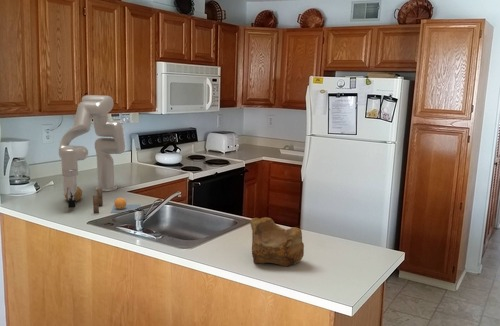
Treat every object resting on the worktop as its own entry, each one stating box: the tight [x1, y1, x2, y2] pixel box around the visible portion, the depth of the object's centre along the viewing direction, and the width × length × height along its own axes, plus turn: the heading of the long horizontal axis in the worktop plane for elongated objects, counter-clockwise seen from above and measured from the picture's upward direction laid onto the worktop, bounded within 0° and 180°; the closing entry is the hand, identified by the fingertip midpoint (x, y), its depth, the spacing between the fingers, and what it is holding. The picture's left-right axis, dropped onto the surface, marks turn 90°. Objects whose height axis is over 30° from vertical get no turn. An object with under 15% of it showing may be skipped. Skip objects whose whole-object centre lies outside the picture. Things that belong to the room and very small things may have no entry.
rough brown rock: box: [249, 216, 305, 267], centre depth 178 cm, size 23×17×15 cm
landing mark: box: [110, 203, 141, 214], centre depth 245 cm, size 14×14×1 cm
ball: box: [114, 197, 127, 209], centre depth 244 cm, size 6×6×6 cm
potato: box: [64, 186, 83, 202], centre depth 258 cm, size 10×14×8 cm
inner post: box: [96, 189, 104, 208], centre depth 248 cm, size 3×3×9 cm
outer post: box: [92, 194, 100, 215], centre depth 236 cm, size 3×3×9 cm
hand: (72, 207), depth 241 cm, fingers closed
